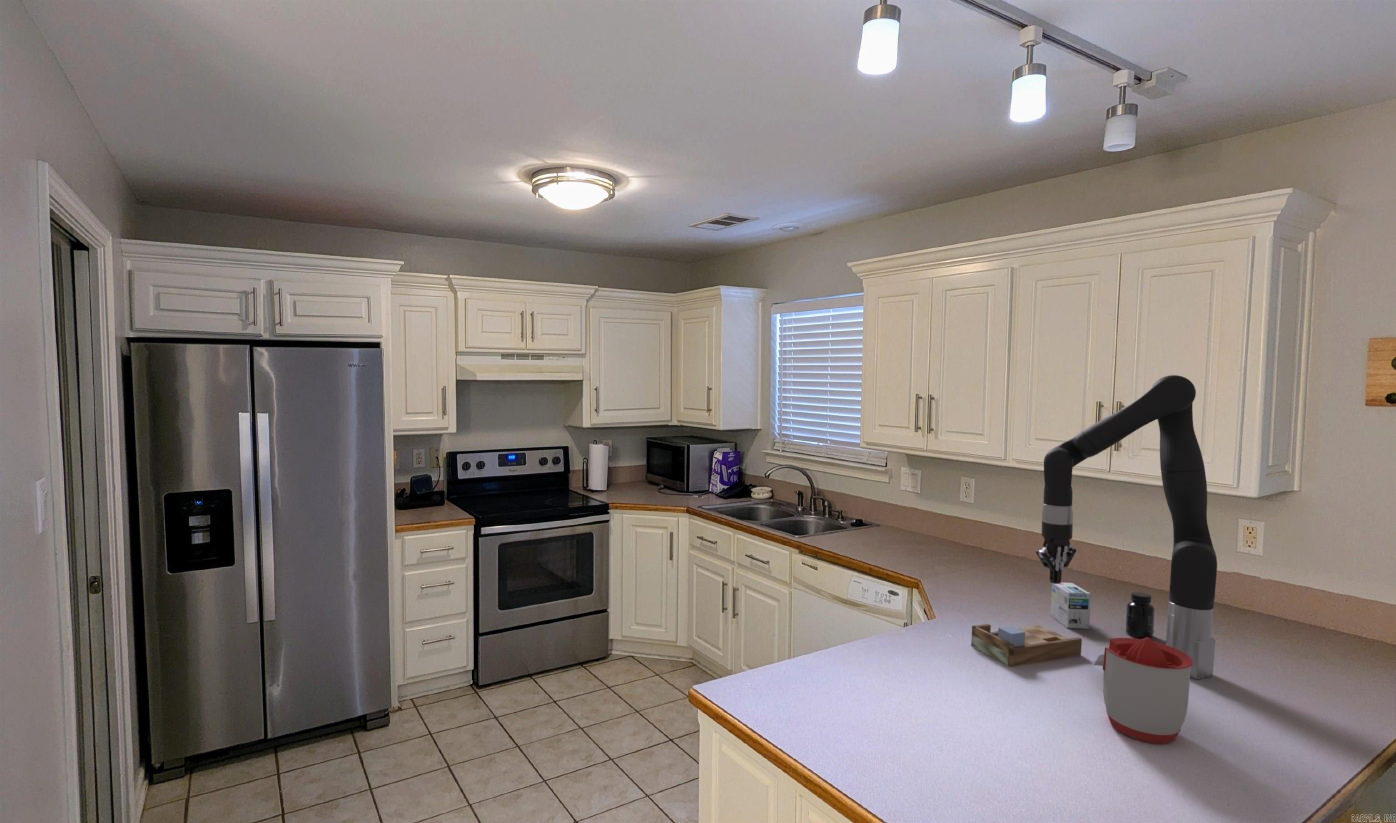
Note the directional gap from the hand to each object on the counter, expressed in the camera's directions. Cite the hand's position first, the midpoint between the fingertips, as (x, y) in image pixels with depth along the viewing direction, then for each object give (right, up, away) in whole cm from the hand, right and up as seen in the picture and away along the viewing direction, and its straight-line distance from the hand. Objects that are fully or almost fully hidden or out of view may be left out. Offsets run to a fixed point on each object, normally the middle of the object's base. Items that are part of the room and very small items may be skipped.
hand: (1055, 582), depth 192 cm
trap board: (-10, -17, -4) cm, 20 cm away
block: (-17, -14, -11) cm, 25 cm away
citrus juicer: (-6, -20, -45) cm, 49 cm away
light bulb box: (+13, -17, +18) cm, 28 cm away
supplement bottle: (+29, -17, +9) cm, 35 cm away
